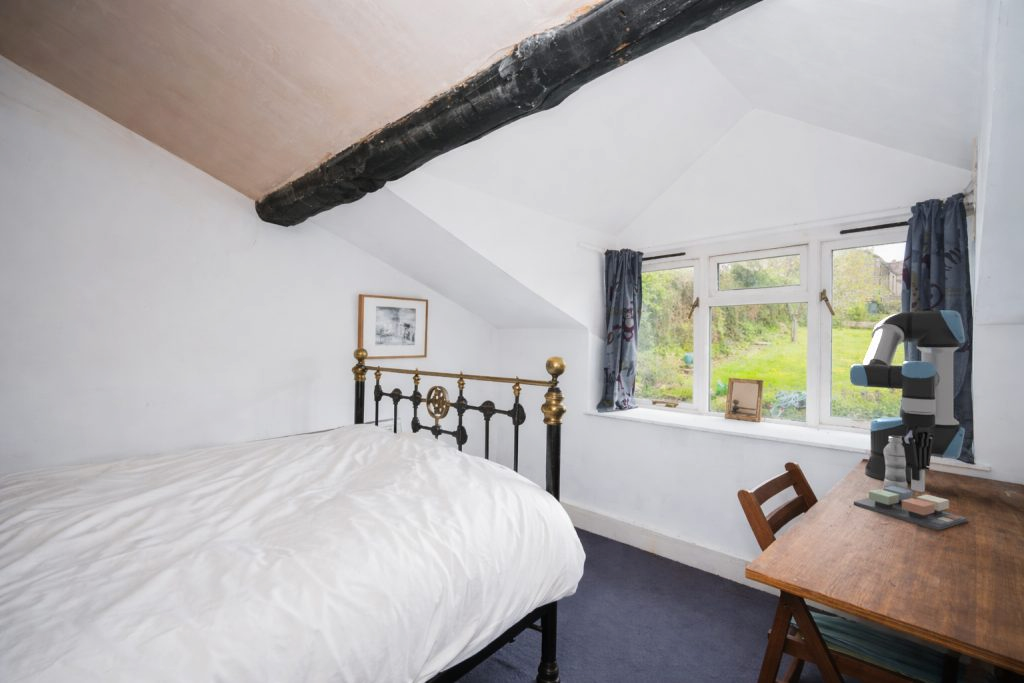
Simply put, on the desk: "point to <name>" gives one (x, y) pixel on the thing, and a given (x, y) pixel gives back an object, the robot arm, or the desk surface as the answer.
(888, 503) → the key sage
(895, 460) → the plastic bottle
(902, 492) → the key slate
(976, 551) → the desk surface
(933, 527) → the keypad
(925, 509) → the key terracotta
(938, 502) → the key cream
